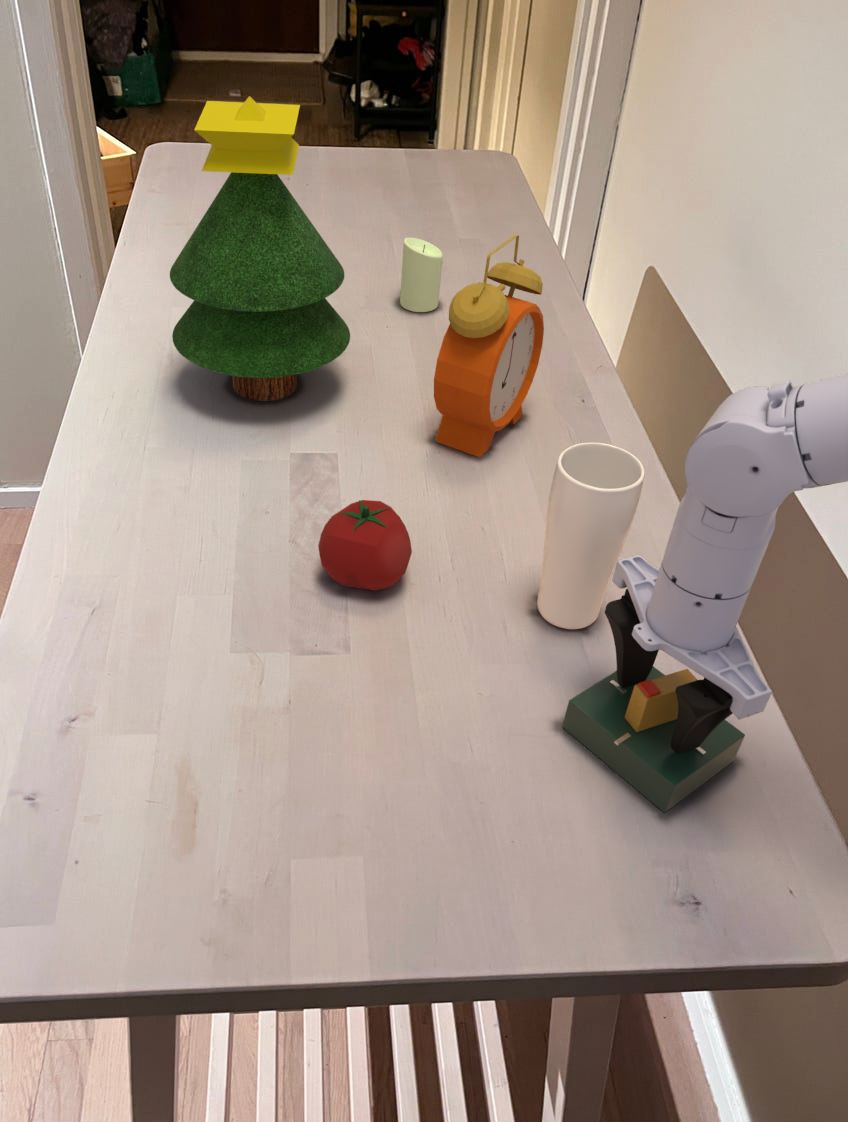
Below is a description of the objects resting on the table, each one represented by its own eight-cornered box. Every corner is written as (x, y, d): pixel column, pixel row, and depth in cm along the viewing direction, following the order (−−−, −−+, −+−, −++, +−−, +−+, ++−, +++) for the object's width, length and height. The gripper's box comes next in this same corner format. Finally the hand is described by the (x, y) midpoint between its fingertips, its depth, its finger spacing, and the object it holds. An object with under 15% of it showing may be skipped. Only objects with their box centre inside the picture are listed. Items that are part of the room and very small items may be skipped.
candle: (434, 295, 131) (440, 233, 125) (441, 312, 127) (447, 249, 122) (397, 296, 130) (401, 233, 125) (402, 313, 127) (406, 249, 121)
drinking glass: (511, 604, 86) (538, 458, 76) (566, 576, 89) (599, 431, 79) (567, 649, 82) (603, 501, 72) (622, 618, 85) (665, 472, 75)
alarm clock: (478, 466, 102) (503, 276, 88) (425, 447, 104) (442, 259, 90) (533, 411, 110) (564, 230, 96) (484, 395, 112) (507, 216, 99)
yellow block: (675, 701, 74) (688, 665, 72) (688, 716, 73) (702, 680, 71) (623, 717, 73) (635, 682, 70) (636, 733, 72) (648, 697, 69)
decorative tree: (350, 347, 119) (358, 69, 99) (346, 433, 105) (354, 130, 85) (190, 341, 119) (165, 61, 99) (164, 426, 105) (128, 120, 85)
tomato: (306, 587, 87) (305, 520, 82) (345, 536, 92) (346, 471, 87) (390, 614, 85) (394, 548, 80) (424, 561, 90) (431, 496, 85)
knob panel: (737, 758, 74) (749, 730, 72) (660, 816, 70) (671, 788, 68) (634, 680, 80) (643, 652, 78) (558, 729, 76) (565, 701, 74)
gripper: (592, 519, 67) (558, 661, 76) (728, 661, 57) (670, 804, 67) (678, 498, 69) (635, 639, 78) (823, 631, 60) (755, 774, 69)
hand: (657, 713), depth 73 cm, fingers open, 6 cm apart
